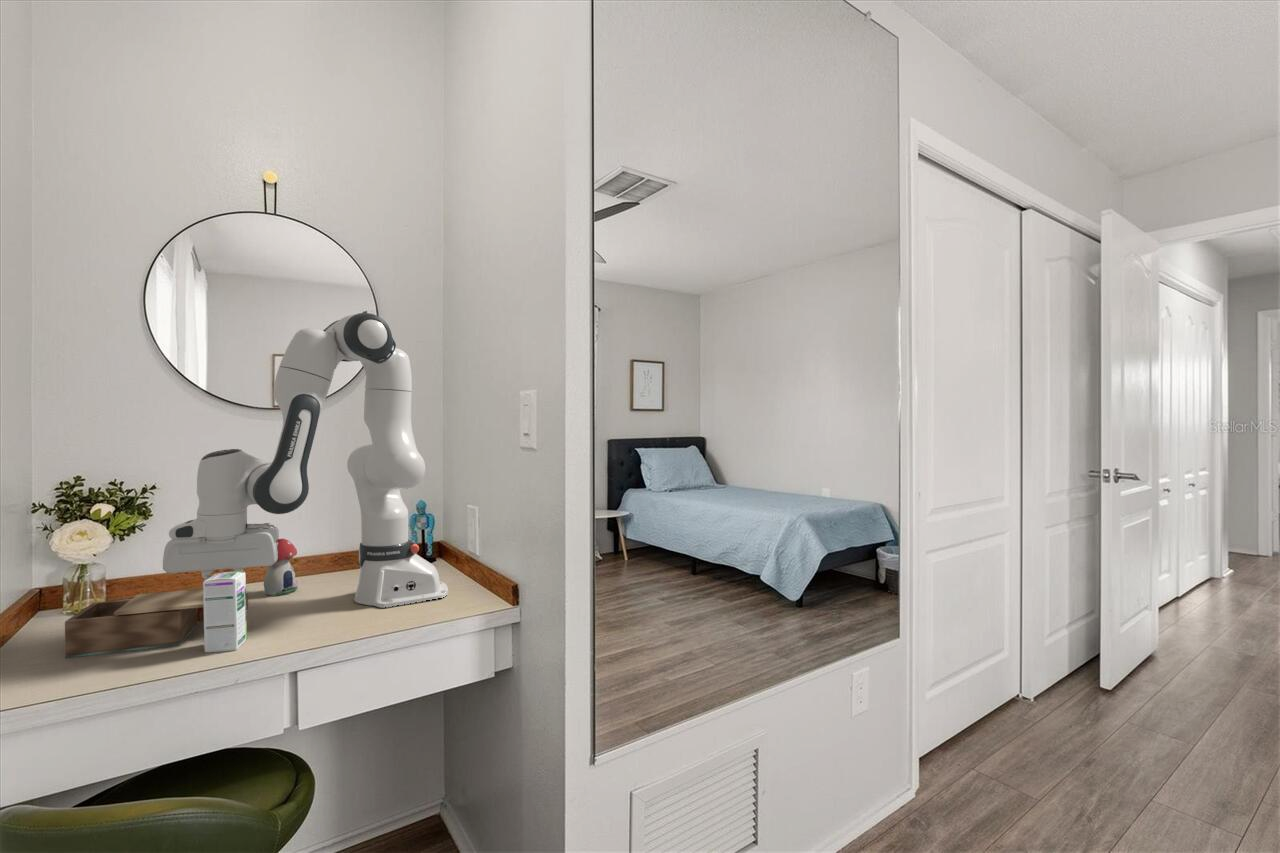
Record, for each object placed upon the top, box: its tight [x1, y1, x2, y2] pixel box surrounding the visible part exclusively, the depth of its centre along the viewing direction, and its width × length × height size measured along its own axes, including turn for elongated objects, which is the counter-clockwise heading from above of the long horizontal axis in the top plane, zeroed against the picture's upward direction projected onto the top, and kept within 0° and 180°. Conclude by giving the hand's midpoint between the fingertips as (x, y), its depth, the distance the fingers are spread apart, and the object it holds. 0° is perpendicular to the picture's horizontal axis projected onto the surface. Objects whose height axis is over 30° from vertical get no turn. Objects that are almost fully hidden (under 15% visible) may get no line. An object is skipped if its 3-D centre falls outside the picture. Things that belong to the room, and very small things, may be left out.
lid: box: [114, 588, 203, 616], centre depth 126 cm, size 18×12×5 cm, turn 113°
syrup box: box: [202, 571, 248, 653], centre depth 120 cm, size 6×6×14 cm
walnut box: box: [64, 598, 199, 659], centre depth 123 cm, size 18×12×7 cm, turn 113°
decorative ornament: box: [263, 538, 299, 597], centre depth 155 cm, size 9×7×15 cm
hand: (222, 589), depth 129 cm, fingers closed on lid, 2 cm apart
